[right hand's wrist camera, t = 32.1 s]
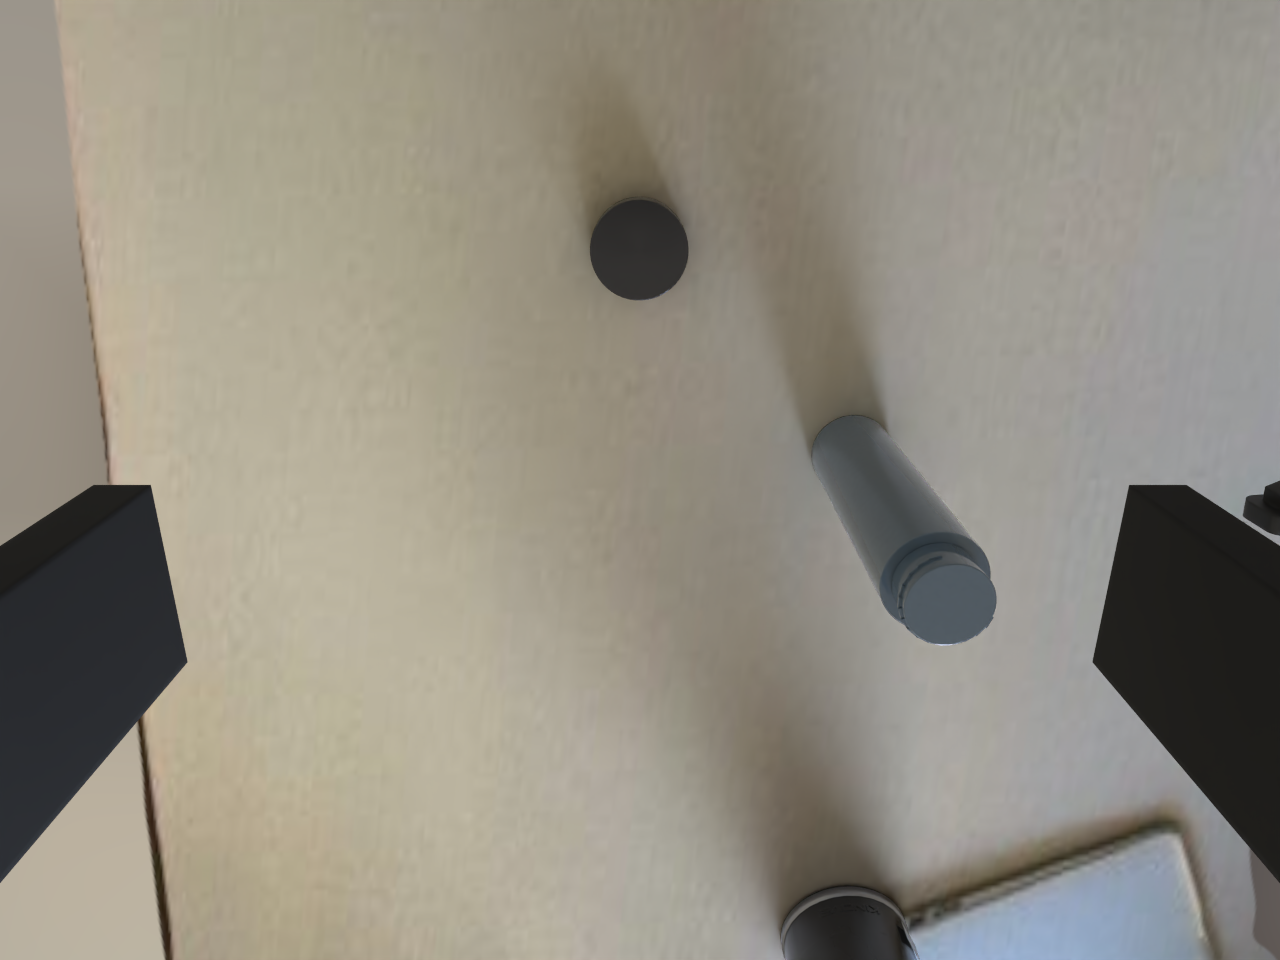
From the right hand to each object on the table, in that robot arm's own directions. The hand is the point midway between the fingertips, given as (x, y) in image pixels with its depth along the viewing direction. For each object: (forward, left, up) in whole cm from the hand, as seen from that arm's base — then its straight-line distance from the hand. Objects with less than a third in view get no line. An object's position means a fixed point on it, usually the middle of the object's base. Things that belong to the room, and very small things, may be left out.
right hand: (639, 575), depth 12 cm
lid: (0, 0, -39) cm, 39 cm away
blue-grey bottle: (+9, +16, -41) cm, 44 cm away
